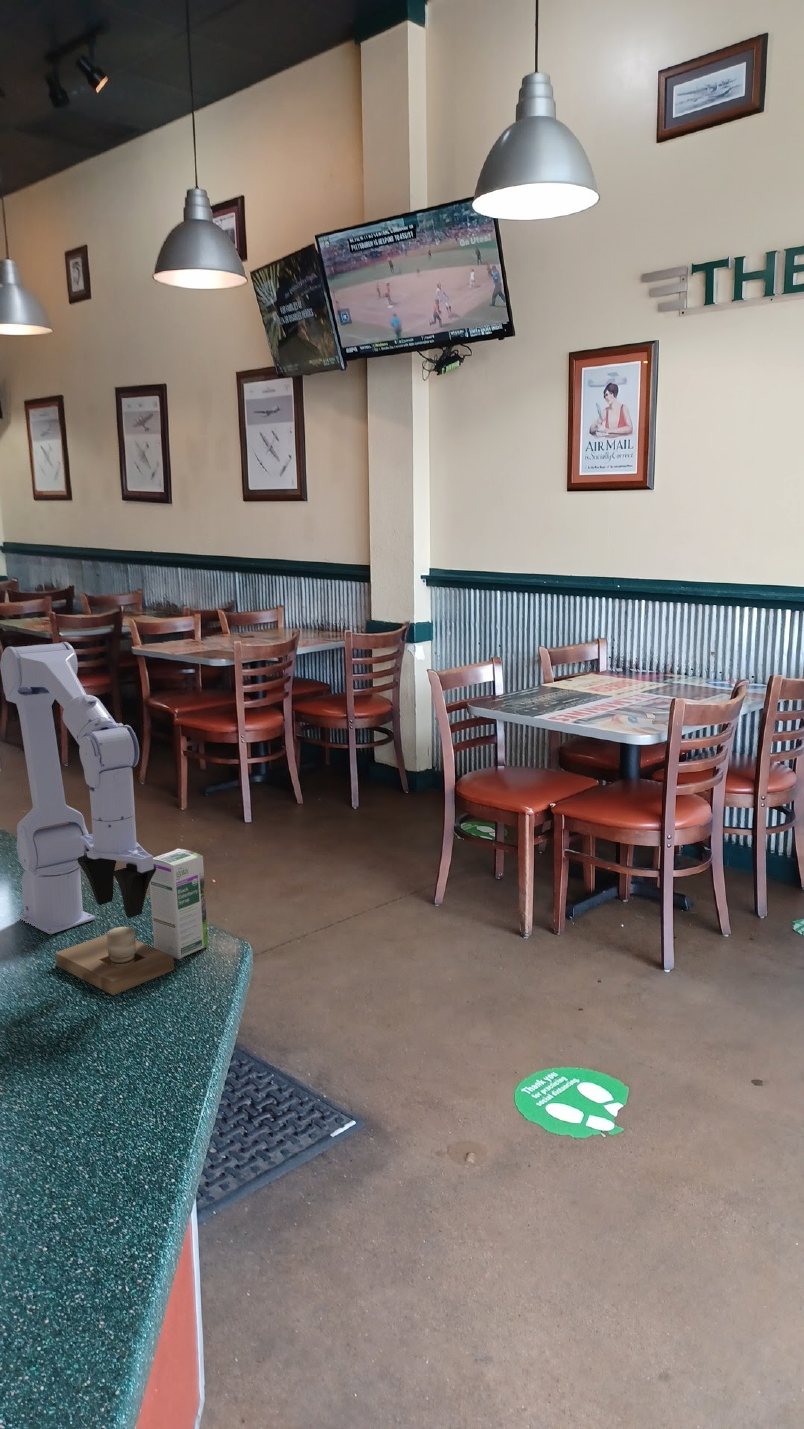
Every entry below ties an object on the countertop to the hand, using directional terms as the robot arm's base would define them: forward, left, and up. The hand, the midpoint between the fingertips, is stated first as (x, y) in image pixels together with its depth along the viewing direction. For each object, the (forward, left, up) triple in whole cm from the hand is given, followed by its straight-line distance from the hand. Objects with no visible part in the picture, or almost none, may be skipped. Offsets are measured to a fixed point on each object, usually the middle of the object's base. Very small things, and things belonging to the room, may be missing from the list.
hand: (119, 909), depth 140 cm
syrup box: (0, +10, -10) cm, 14 cm away
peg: (0, 0, -9) cm, 9 cm away
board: (-2, 0, -9) cm, 10 cm away
